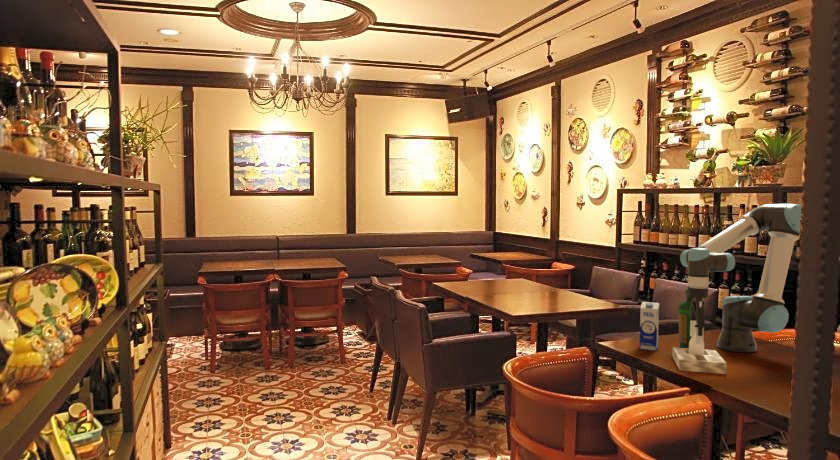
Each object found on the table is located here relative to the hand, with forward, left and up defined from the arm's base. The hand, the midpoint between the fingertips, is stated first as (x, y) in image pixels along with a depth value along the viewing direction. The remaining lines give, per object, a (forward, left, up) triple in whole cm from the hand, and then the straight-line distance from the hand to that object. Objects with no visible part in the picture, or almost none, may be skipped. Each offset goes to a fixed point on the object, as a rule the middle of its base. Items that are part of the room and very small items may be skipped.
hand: (696, 340), depth 236 cm
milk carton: (+16, -18, -9) cm, 26 cm away
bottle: (-1, -20, -9) cm, 22 cm away
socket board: (0, +5, -9) cm, 10 cm away
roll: (0, 0, -9) cm, 9 cm away
